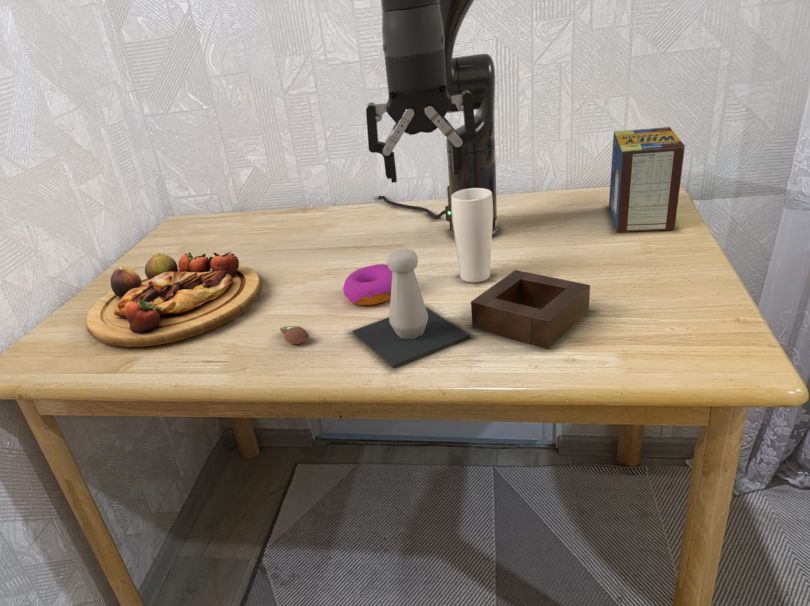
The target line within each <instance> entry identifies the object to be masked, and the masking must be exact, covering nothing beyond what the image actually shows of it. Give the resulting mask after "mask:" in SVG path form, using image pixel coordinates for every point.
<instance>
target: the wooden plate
mask: <svg viewBox="0 0 810 606" xmlns="http://www.w3.org/2000/svg"><path fill="white" fill-rule="evenodd" d="M212 254H213V255H214V256H209V257H208V256H207V254H206V253H203V254H201V255H196V256H193V255H192V253H191V251H189V252H187V253H184V254H183V255H181V257H180V258H179V260H178V262H177V261H176V260H175V259H174V258H173V257H171V256H170V255H167V254H162V253H159V252H156V253H154V255H152V256H151V257H150V258H149V260H148V261H147V262H146V264H145V266H144V275H142V276H140V275H139V274H138V273H137V272H136V271H134V270H133V269H132V268H129V267H125V266H121V265H119V266H118V267H117V268H115V270H113V272H112V274H111V276H110V288H111V291H109V292H107V293H106V294H105V295H103V296H102V297H101V298H100V299H97V301H96V302H94V304H93V305H92V306H91V308H90V309H89V310H88V312H87V313H86V314H87V315H86V318H85V327H86V330H87V332H88V333H89V335H90V336H91V337H92V338H94V339H95V340H97V342H101V343H103V344H106V345H111V346H115V347H125V348H126V347H128V348H129V347H130V348H132V347H133V348H137V347H139V348H140V347H150V346H158V345H164V344H165V345H166V344H170V343H174V342H178V341H183V340H185V339H189V338H193V337H196V336H199V335H202V334H205V333H206V332H209V331H212V330H214V329H216V328H218V327H220V326H222V325H224V324H226V323H228V322H230V321H232V320H234V319H235V318H237V317H238V316H240V315H241V314H242V313H244V312H245V311H246V310H248V309H249V308H250V307H251V306H252V305H253V304H254V303H255V301H256V300H258V297H259V296H260V294H261V291H262V287H263V286H262V284H263V283H262V279H261V276H260V274H259V273H258V272H257V271H256V270H255V269H254V268H252V267H250V266H248V265H247V264H245V263H244V264H243V263H240V260H239V258H238V256H237V255H235V253H232V252H231V251H229V252H226V253H225V254H222V255H220V254H218V253H217V252H212ZM177 263H178V264H177Z"/></svg>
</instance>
